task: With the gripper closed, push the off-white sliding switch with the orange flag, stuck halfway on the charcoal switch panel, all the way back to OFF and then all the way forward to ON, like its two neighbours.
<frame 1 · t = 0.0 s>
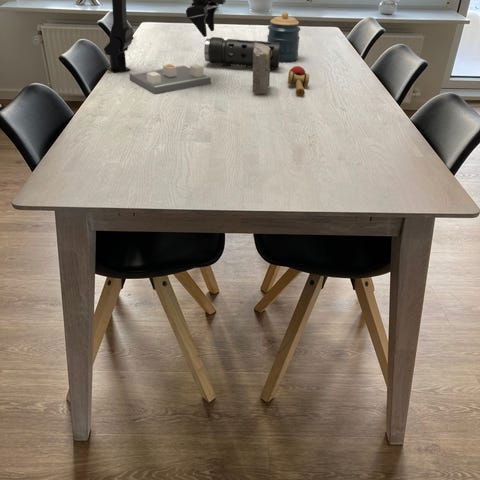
hand: (208, 33, 177), 15 cm above the table, tool pointing down, fingers open, 9 cm apart
canister: (281, 58, 213), on the table
kendama: (298, 89, 181), on the table
switch panel: (170, 81, 182), on the table
geological specimen: (259, 91, 177), on the table
tripped switch: (169, 70, 180), point 4 cm above the table, slide at 4.0 cm
muzzle brake: (241, 68, 200), on the table
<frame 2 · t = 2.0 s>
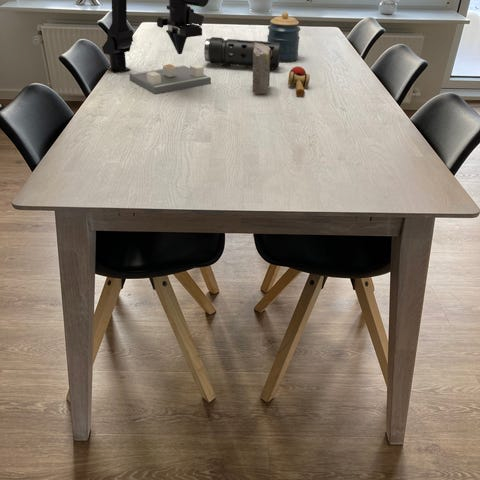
hand: (179, 54, 171), 11 cm above the table, tool pointing down, fingers closed
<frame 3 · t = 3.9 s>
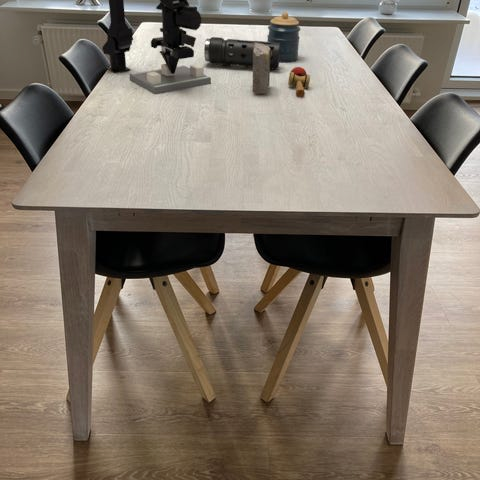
hand: (172, 73, 179), 3 cm above the table, tool pointing down, fingers closed
tripped switch: (168, 69, 181), point 4 cm above the table, slide at 2.8 cm, touching gripper
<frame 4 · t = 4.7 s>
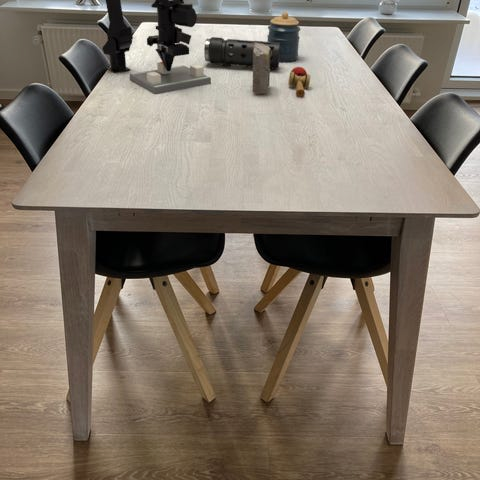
hand: (168, 71, 181), 3 cm above the table, tool pointing down, fingers closed
tripped switch: (163, 67, 182), point 4 cm above the table, slide at 0.0 cm, touching gripper
everything else where it was.
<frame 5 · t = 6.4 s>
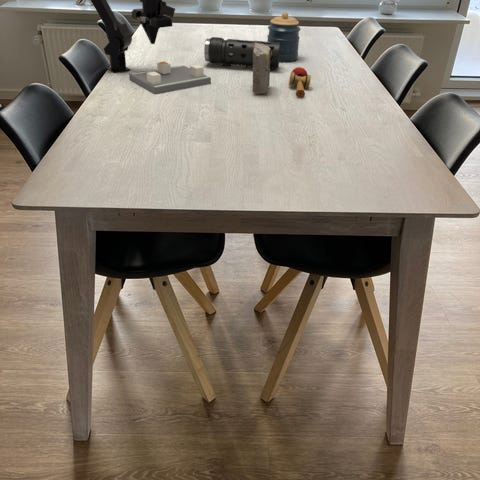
hand: (152, 43, 183), 10 cm above the table, tool pointing down, fingers closed
tripped switch: (163, 67, 182), point 4 cm above the table, slide at 0.0 cm
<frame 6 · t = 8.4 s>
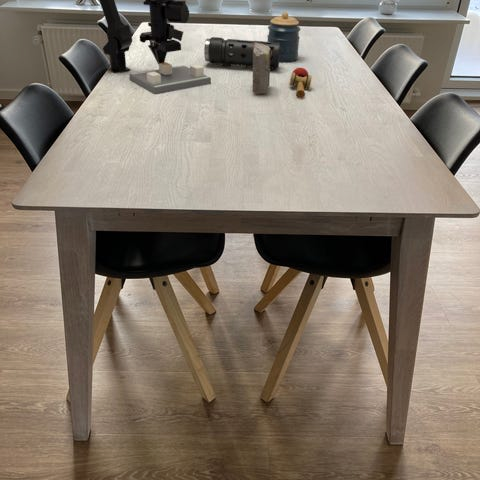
hand: (161, 66, 184), 4 cm above the table, tool pointing down, fingers closed
tripped switch: (165, 68, 182), point 4 cm above the table, slide at 1.1 cm, touching gripper
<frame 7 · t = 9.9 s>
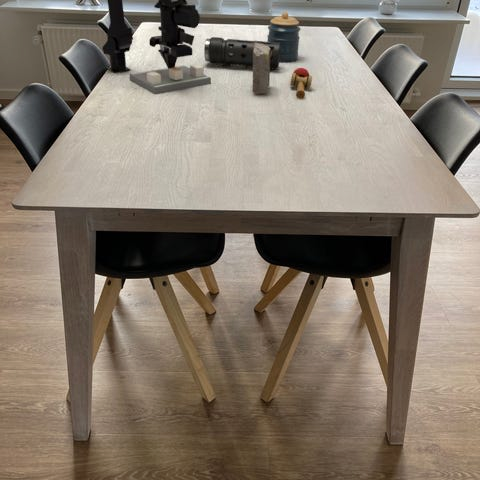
hand: (171, 71, 179), 4 cm above the table, tool pointing down, fingers closed
tripped switch: (175, 73, 177), point 4 cm above the table, slide at 8.1 cm, touching gripper
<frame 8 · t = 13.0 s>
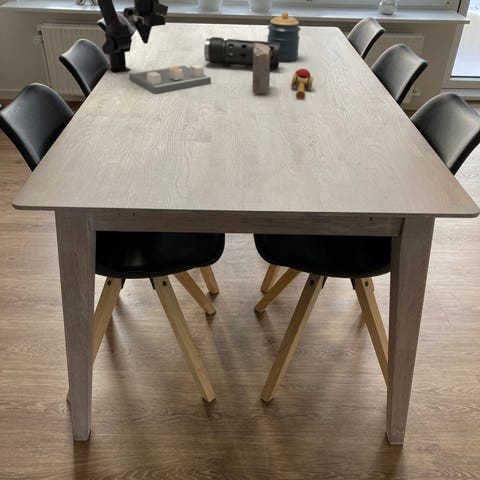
hand: (145, 43, 177), 12 cm above the table, tool pointing down, fingers closed
tripped switch: (175, 73, 177), point 4 cm above the table, slide at 8.1 cm
at the end: tripped switch slide at 8.1 cm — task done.
